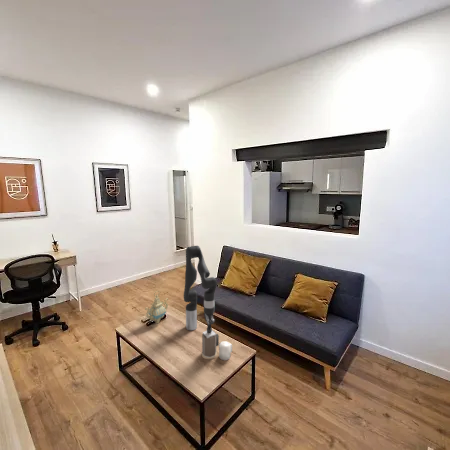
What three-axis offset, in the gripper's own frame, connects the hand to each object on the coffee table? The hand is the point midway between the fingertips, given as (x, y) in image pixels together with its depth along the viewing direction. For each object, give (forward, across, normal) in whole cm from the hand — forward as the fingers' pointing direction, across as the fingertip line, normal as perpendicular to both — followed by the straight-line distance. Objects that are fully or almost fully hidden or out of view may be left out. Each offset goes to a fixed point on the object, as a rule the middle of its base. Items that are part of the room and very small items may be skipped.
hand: (209, 328), depth 177 cm
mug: (+20, +8, +8) cm, 23 cm away
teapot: (+20, -60, -18) cm, 66 cm away
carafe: (+20, 0, 0) cm, 20 cm away
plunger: (+17, 0, 0) cm, 17 cm away
